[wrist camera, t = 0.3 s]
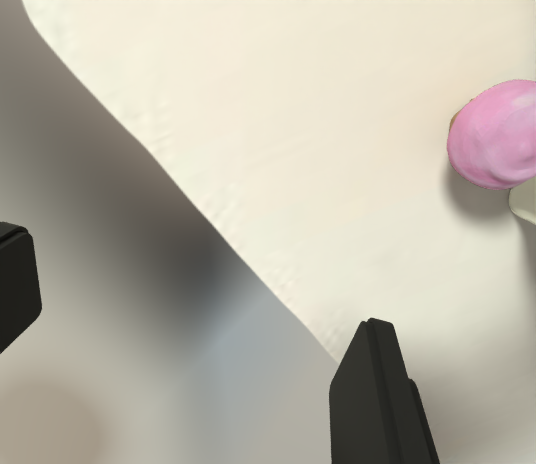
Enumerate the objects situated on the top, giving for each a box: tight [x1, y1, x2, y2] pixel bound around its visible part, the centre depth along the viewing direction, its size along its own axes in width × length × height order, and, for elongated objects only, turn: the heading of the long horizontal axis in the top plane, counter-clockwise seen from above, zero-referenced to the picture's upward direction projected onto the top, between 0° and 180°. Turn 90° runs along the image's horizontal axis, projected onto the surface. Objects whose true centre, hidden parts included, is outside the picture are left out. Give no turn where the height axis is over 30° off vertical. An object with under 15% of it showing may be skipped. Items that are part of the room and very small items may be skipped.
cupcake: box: [447, 80, 536, 190], centre depth 30 cm, size 9×9×10 cm
